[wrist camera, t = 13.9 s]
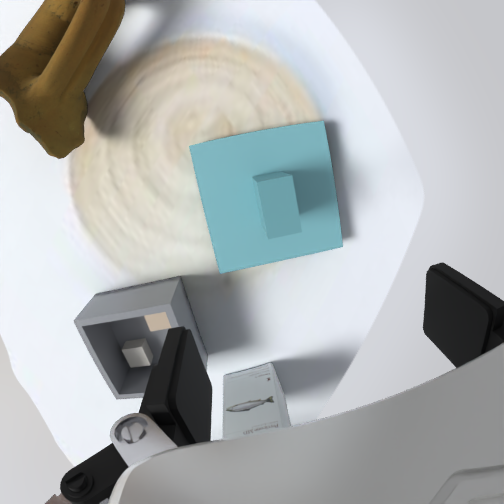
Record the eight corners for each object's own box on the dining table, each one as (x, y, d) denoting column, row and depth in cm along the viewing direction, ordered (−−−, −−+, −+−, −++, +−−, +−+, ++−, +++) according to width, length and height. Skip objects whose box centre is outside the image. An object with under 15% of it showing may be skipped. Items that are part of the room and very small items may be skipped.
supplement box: (272, 360, 40) (286, 429, 28) (285, 394, 43) (299, 459, 31) (221, 373, 41) (220, 443, 29) (238, 406, 43) (242, 472, 31)
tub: (207, 355, 39) (204, 390, 33) (129, 366, 40) (116, 399, 33) (180, 275, 36) (170, 303, 29) (95, 294, 36) (73, 320, 29)
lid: (336, 240, 36) (363, 265, 28) (220, 265, 36) (218, 298, 28) (317, 122, 31) (343, 114, 23) (192, 146, 31) (179, 144, 23)
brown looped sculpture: (-43, 98, 19) (39, -64, 11) (29, 99, 31) (104, -33, 23) (-4, 166, 18) (124, -76, 10) (93, 157, 30) (198, -14, 22)
